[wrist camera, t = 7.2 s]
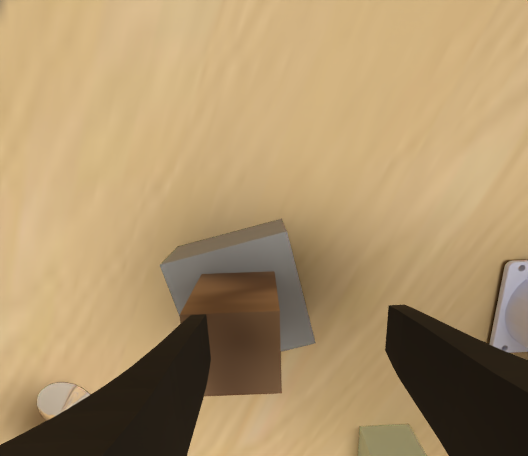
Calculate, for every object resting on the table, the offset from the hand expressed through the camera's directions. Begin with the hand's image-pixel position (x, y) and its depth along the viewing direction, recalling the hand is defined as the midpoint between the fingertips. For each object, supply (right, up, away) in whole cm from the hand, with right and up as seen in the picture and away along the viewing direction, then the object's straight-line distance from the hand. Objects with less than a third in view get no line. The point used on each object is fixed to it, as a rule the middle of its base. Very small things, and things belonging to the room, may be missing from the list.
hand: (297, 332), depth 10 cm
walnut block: (-3, -1, +6) cm, 7 cm away
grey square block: (-3, 0, +10) cm, 11 cm away
